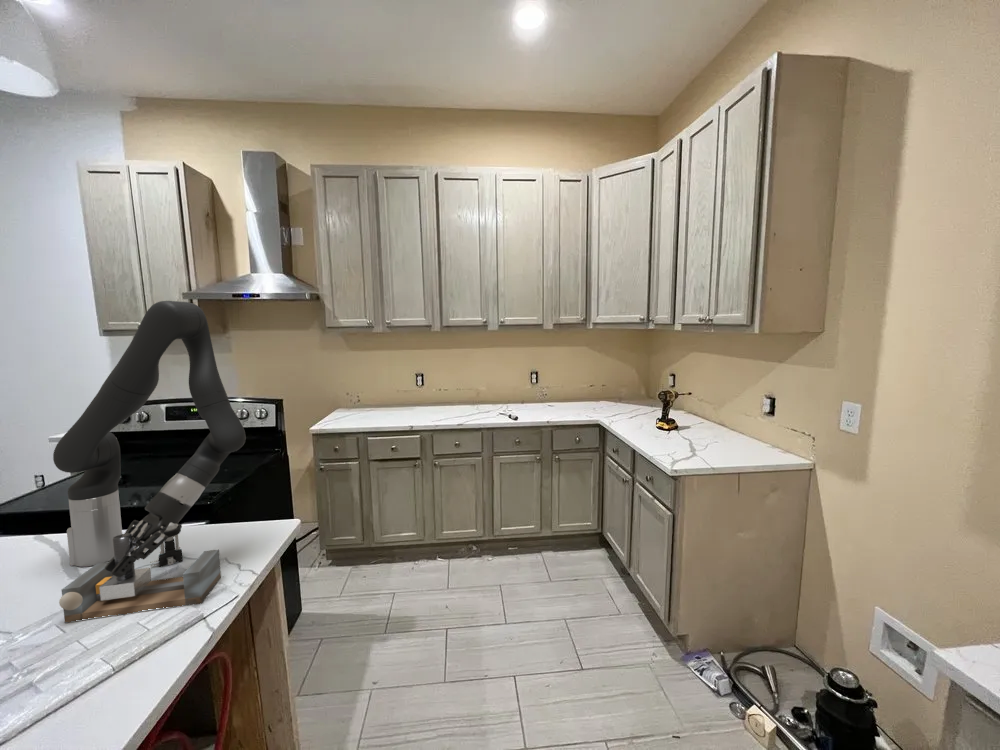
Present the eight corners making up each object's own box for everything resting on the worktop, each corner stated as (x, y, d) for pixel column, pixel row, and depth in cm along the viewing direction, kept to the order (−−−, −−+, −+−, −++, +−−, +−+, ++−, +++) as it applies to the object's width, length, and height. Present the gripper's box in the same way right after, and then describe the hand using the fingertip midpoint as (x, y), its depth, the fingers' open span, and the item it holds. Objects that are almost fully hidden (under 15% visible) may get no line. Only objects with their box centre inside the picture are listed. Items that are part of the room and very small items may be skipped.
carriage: (100, 600, 86) (95, 544, 85) (119, 584, 92) (114, 532, 91) (134, 596, 87) (130, 541, 86) (151, 580, 93) (146, 528, 92)
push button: (150, 572, 101) (146, 533, 100) (151, 563, 105) (148, 525, 104) (184, 563, 105) (181, 525, 104) (184, 555, 109) (181, 518, 109)
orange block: (96, 594, 87) (95, 585, 87) (106, 586, 90) (105, 577, 90) (105, 593, 87) (104, 584, 87) (114, 585, 90) (114, 576, 90)
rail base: (61, 624, 83) (58, 590, 82) (98, 593, 93) (95, 563, 92) (200, 604, 88) (198, 573, 88) (221, 577, 98) (218, 549, 98)
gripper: (148, 485, 98) (82, 558, 88) (175, 495, 91) (106, 576, 81) (177, 499, 103) (117, 570, 93) (204, 510, 96) (142, 588, 86)
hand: (112, 572), depth 87 cm, fingers closed on carriage, 3 cm apart
